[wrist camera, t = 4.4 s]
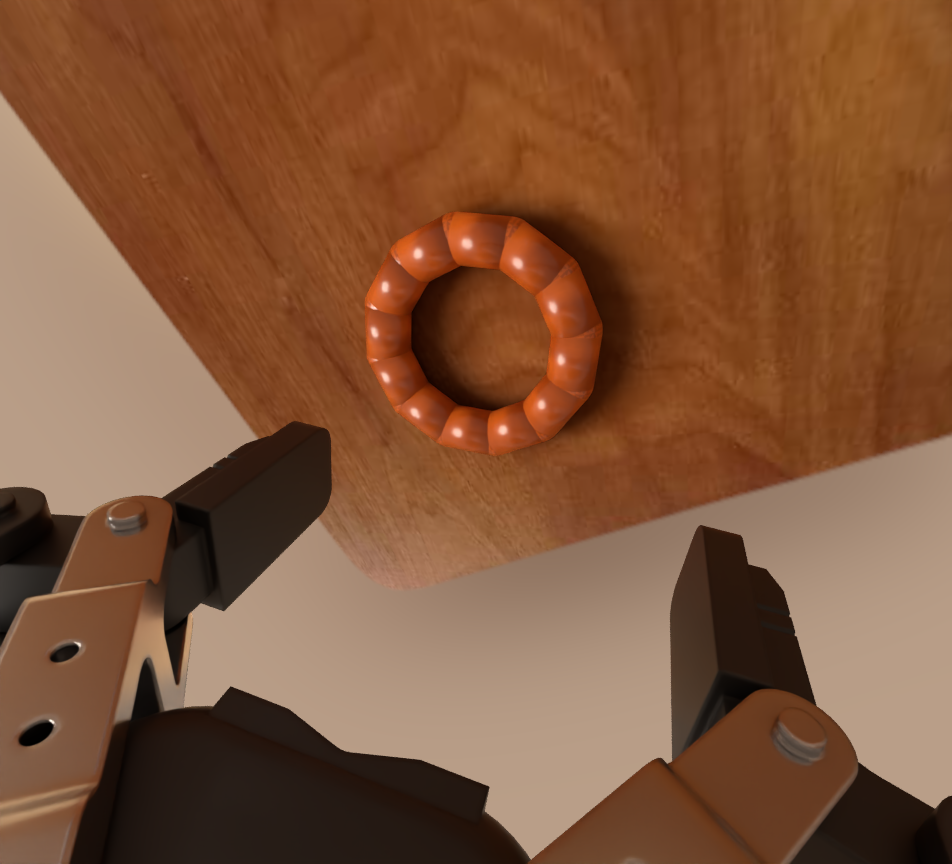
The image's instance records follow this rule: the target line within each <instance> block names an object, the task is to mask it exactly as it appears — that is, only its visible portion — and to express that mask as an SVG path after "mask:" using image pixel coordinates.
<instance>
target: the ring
mask: <svg viewBox="0 0 952 864" xmlns="http://www.w3.org/2000/svg"><path fill="white" fill-rule="evenodd" d="M460 266H468V267H477V268H486V269H495V270H501V271H502V272H504V273H505V274H506V275H507V276H509V277H510V278H511V279H513V280H514V281H515V282H517V283H518V284H519V285H521V286H522V287H523V288H524V289H526V290H527V291H528V292H530V293H531V294H532V295H534V296H535V298H536V301H537V303H538V305H539V308H540V310H541V312H542V315H543V317H544V319H545V322H546V324H547V326H548V329H549V331H550V333H551V341H550V349H549V357H548V366H547V373H546V374H545V376H544V377H543V378H542V379H541V381H540V382H539V383H538V384H537V386H536V387H535V388H534V389H533V391H532V392H531V393H530V394H529V396H528V397H527V398H526V399H525V400H523V401H520V402H517V403H515V404H512V405H509V406H506V407H503V408H500V409H498V410H495V411H490V410H485V409H479V408H473V407H468V406H462V405H458V404H457V403H455V402H454V401H453V400H451V399H450V398H449V397H447V396H446V395H445V394H443V393H442V392H441V391H439V390H438V389H437V388H436V387H434V386H433V385H432V384H430V383H429V382H428V380H427V378H426V376H425V374H424V372H423V370H422V368H421V366H420V364H419V362H418V361H417V359H416V357H415V355H414V353H413V351H412V349H411V322H412V310H413V309H414V307H415V305H416V303H417V302H418V300H419V298H420V297H421V295H422V293H423V292H424V290H425V288H426V286H427V285H428V283H429V282H430V281H432V280H434V279H436V278H438V277H440V276H442V275H444V274H446V273H448V272H450V271H452V270H454V269H456V268H458V267H460ZM365 321H366V350H367V359H368V362H369V364H370V366H371V368H372V369H373V371H374V373H375V375H376V377H377V379H378V381H379V383H380V384H381V386H382V388H383V390H384V392H385V394H386V396H387V398H388V399H389V401H390V403H391V405H392V407H393V408H394V410H395V411H396V412H397V413H398V414H400V415H401V416H402V417H404V418H405V419H406V420H408V421H409V422H410V423H412V424H413V425H414V426H416V427H417V428H418V429H419V430H421V431H422V432H423V433H425V434H426V435H427V436H429V437H430V438H431V439H433V440H434V441H435V442H437V443H438V444H440V445H443V446H446V447H451V448H456V449H461V450H466V451H471V452H476V453H481V454H486V455H492V456H498V455H503V454H506V453H509V452H512V451H515V450H519V449H522V448H525V447H528V446H532V445H535V444H538V443H541V442H545V441H547V440H549V439H551V438H553V437H554V436H555V435H556V434H557V433H558V432H559V431H560V430H561V428H562V427H563V426H564V425H565V424H566V423H567V422H568V420H569V419H570V418H571V417H572V416H573V415H574V414H575V413H576V411H577V410H578V409H579V408H580V407H581V406H582V405H583V404H584V402H585V401H586V400H587V399H588V398H589V396H590V395H591V393H592V391H593V388H594V383H595V377H596V371H597V365H598V359H599V353H600V347H601V341H602V335H603V325H602V321H601V319H600V316H599V314H598V311H597V309H596V306H595V303H594V301H593V298H592V296H591V293H590V291H589V288H588V286H587V283H586V281H585V278H584V276H583V273H582V271H581V268H580V266H579V264H578V262H577V261H576V260H575V259H574V258H573V257H572V256H570V255H569V254H568V253H567V252H565V251H564V250H563V249H561V248H560V247H559V246H557V245H556V244H555V243H554V242H552V241H551V240H550V239H548V238H547V237H546V236H544V235H543V234H542V233H540V232H539V231H538V230H537V229H535V228H534V227H533V226H531V225H530V224H529V223H527V222H526V221H525V220H523V219H521V218H518V217H514V216H503V215H491V214H480V213H469V212H450V213H447V214H445V215H443V216H441V217H439V218H437V219H436V220H434V221H432V222H430V223H429V224H427V225H425V226H423V227H421V228H420V229H418V230H416V231H414V232H412V233H411V234H409V235H407V236H405V237H403V238H402V239H400V240H398V241H397V242H396V243H395V244H394V245H393V246H392V248H391V249H390V251H389V253H388V255H387V257H386V259H385V261H384V263H383V264H382V266H381V268H380V270H379V272H378V274H377V276H376V278H375V280H374V282H373V284H372V285H371V287H370V289H369V291H368V293H367V295H366V299H365Z"/></svg>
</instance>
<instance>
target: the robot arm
mask: <svg viewBox="0 0 952 864" xmlns="http://www.w3.org/2000/svg"><path fill="white" fill-rule="evenodd" d="M331 489H332V479H331V438H330V434H329V432H328V430H327V429H325V428H321V427H317V426H313V425H309V424H305V423H301V422H297V421H294V422H291V423H289V424H288V425H286V426H285V427H283V428H282V429H280V430H279V431H278V432H276V433H275V434H273V435H272V436H270V437H269V436H267V437H264V438H261V439H258V440H255V441H252V442H249V443H246V444H244V445H243V446H241V447H240V448H238V449H237V450H235V451H233V452H232V453H230V454H229V455H228V457H227V458H223V459H221V460H220V461H218V462H217V463H215V464H214V465H213V467H209V468H207V469H206V470H205V471H203V472H201V473H200V474H198V475H197V476H195V477H193V478H192V479H191V480H189V481H187V482H186V483H184V484H183V485H181V486H180V487H178V488H177V489H175V490H173V491H172V492H170V493H169V494H167V495H166V496H164V497H163V498H158V497H153V496H132V497H125V498H120V499H117V500H113V501H111V502H108V503H105V504H103V505H101V506H99V507H97V508H96V509H94V510H93V511H91V512H90V513H89V514H88V515H87V516H71V515H54V514H51V513H50V510H49V507H48V504H47V500H46V497H45V495H44V494H43V493H42V492H41V491H39V490H36V489H33V488H26V487H10V488H2V489H0V864H952V796H949V797H947V798H945V799H944V800H942V802H941V803H940V804H939V805H938V806H937V807H936V808H935V809H934V808H933V807H931V806H929V805H927V804H925V803H924V802H922V801H920V800H919V799H917V798H915V797H913V796H912V795H910V794H908V793H906V792H905V791H903V790H901V789H900V788H898V787H896V786H894V785H892V784H891V783H889V782H888V781H886V780H884V779H882V778H881V777H879V776H877V775H876V774H874V773H873V772H871V771H870V770H868V769H867V768H866V767H864V766H863V765H862V764H860V763H859V762H858V759H857V756H856V752H855V750H854V748H853V746H852V744H851V742H850V740H849V739H848V737H847V736H846V734H845V733H844V731H843V730H842V729H841V728H840V726H838V724H837V723H836V722H835V721H834V720H833V719H832V718H831V717H830V716H828V715H827V714H826V713H825V712H824V711H823V710H821V709H820V708H818V707H817V706H816V702H815V699H814V695H813V693H812V689H811V685H810V682H809V678H808V675H807V671H806V668H805V665H804V661H803V657H802V654H801V650H800V647H799V643H798V640H797V637H796V636H795V630H794V626H793V622H792V619H791V617H789V615H790V612H789V608H788V605H787V601H786V598H785V594H784V591H783V590H782V589H781V587H780V586H779V585H778V583H777V582H776V581H775V580H774V578H773V577H772V576H771V575H770V573H769V572H768V571H767V570H766V569H764V568H760V567H756V566H752V565H749V564H748V562H747V556H746V552H745V547H744V543H743V538H742V537H741V535H737V534H734V533H730V532H726V531H722V530H718V529H714V528H710V527H706V526H702V525H700V526H699V527H698V528H697V530H696V532H695V534H694V537H693V539H692V542H691V545H690V548H689V551H688V553H687V556H686V559H685V562H684V564H683V567H682V570H681V572H680V575H679V578H678V581H677V584H676V586H675V590H674V594H673V598H672V604H671V611H670V633H671V634H670V637H671V638H670V639H671V640H670V641H671V706H672V707H671V708H672V762H671V763H668V764H667V763H666V762H665V761H664V760H663V759H662V758H657V759H654V760H652V761H651V762H650V763H648V764H646V765H645V766H644V767H642V768H641V769H640V770H639V771H638V772H636V773H635V774H634V775H633V776H632V777H630V778H629V779H628V780H627V781H626V782H624V783H623V784H622V785H621V786H620V787H618V788H617V789H616V790H615V791H613V792H612V793H611V794H610V795H609V796H607V797H606V798H605V799H604V800H603V801H602V802H600V803H599V804H598V805H597V806H595V807H594V808H593V809H592V810H591V811H589V812H588V813H587V814H586V815H585V816H583V817H582V818H581V819H580V820H579V821H577V822H576V823H575V824H574V825H572V826H571V827H570V828H569V829H568V830H567V831H565V832H564V833H563V834H562V835H561V836H559V837H558V838H557V839H556V840H554V841H553V842H552V843H551V844H550V845H549V846H547V847H546V848H545V849H544V850H542V851H541V852H540V853H539V854H537V855H536V856H535V857H534V858H533V859H532V860H531V859H530V858H529V856H528V855H527V853H526V852H525V851H524V849H523V848H522V847H521V846H520V844H519V843H518V842H517V841H516V840H515V838H514V837H513V836H512V835H511V834H510V833H509V832H508V831H507V830H506V829H505V828H504V827H503V826H502V825H501V824H500V823H499V822H498V821H496V820H495V819H494V818H493V817H491V816H490V815H489V814H487V813H486V812H485V806H486V802H487V797H488V792H489V786H486V785H483V784H481V783H479V782H476V781H473V780H471V779H468V778H465V777H463V776H460V775H458V774H455V773H453V772H450V771H447V770H445V769H442V768H440V767H437V766H435V765H432V764H430V763H427V762H424V761H422V760H416V759H407V758H398V757H388V756H379V755H369V754H360V753H350V752H346V751H343V750H341V749H339V748H338V747H336V746H335V745H334V744H332V743H331V742H330V741H328V740H327V739H326V738H325V737H324V736H322V735H321V734H320V733H318V732H317V731H316V730H315V729H313V728H312V727H311V726H310V725H308V724H307V723H306V722H305V721H303V720H302V719H301V718H299V717H298V716H297V715H296V714H294V713H293V712H292V711H291V710H289V709H287V708H285V707H282V706H280V705H277V704H274V703H272V702H269V701H267V700H264V699H262V698H259V697H257V696H254V695H252V694H249V693H246V692H244V691H241V690H238V689H236V688H233V687H230V688H229V689H228V690H227V691H226V692H225V694H224V695H223V696H222V697H221V698H220V700H219V701H218V702H217V703H216V704H215V705H214V707H212V706H195V707H185V708H184V696H185V687H186V679H187V671H188V662H189V653H190V645H191V636H192V628H193V618H192V611H193V610H194V609H195V608H196V607H197V606H198V605H199V604H200V603H202V604H205V605H208V606H210V607H213V608H216V609H219V610H222V611H225V610H226V609H227V608H228V606H230V605H231V604H232V602H234V601H235V600H236V598H238V596H240V595H241V594H242V593H243V592H244V591H245V590H246V589H247V588H248V587H249V586H250V585H251V584H252V583H253V582H254V581H255V580H256V579H257V577H259V576H260V575H261V574H262V573H263V572H264V571H265V570H266V569H267V568H268V567H269V566H270V565H271V564H272V563H273V562H274V561H275V560H276V558H278V557H279V556H280V554H281V553H282V552H284V550H286V549H287V548H288V547H289V546H290V545H291V544H292V543H293V542H294V540H296V539H297V538H298V537H299V536H300V535H301V534H302V533H303V532H304V531H305V530H306V529H307V528H308V527H309V525H311V524H312V523H313V522H314V521H315V520H316V519H317V518H318V517H319V516H320V515H321V514H322V512H323V511H324V510H325V508H326V506H327V504H328V502H329V499H330V495H331Z"/></svg>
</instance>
